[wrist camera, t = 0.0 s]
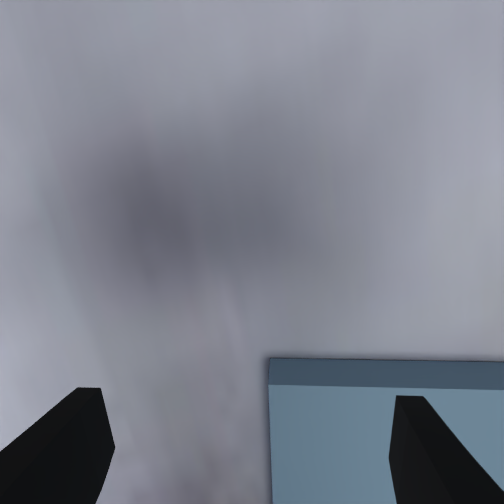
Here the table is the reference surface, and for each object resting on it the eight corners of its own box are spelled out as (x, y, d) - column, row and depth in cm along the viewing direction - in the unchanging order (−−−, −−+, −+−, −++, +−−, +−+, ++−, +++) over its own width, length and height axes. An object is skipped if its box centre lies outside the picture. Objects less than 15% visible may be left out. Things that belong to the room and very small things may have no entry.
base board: (471, 520, 26) (485, 555, 24) (275, 510, 27) (274, 542, 25) (511, 362, 21) (532, 390, 19) (270, 358, 22) (268, 384, 20)
